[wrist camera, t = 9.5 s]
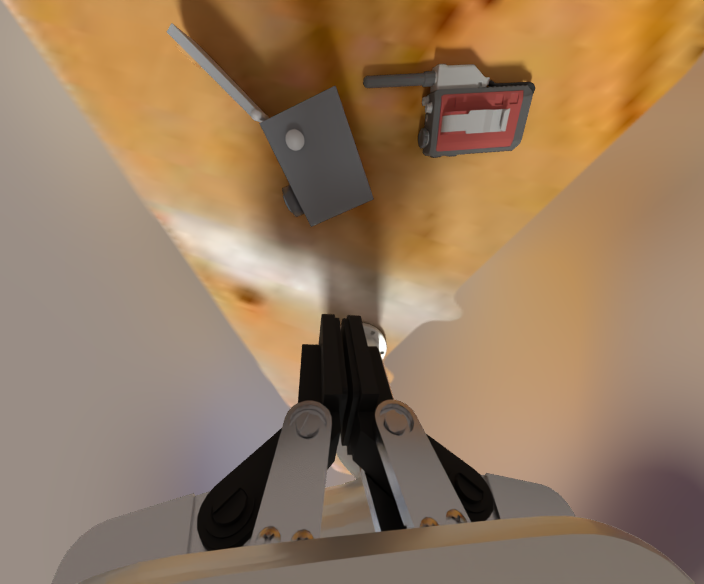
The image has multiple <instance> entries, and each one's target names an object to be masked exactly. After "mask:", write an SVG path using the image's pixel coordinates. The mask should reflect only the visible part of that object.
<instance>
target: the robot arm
mask: <svg viewBox="0 0 704 584" xmlns="http://www.w3.org/2000/svg"><path fill="white" fill-rule="evenodd" d="M386 350H387V344H386V341H385V338H384V336H383V334H382V333H381V331H380V330H378V329H377V328H376V327H374V326H372V325H369V324H366V323H362V320H361V316H352V315H348V316H347V319H345V318H343V319H342V325H340V320H339V318H335V315H331V314H322V316H321V326H320V336H319V345H308V344H302V355H301V369H300V383H299V396H298V403H297V404H296V405H294V406H293V407H292V408H291V409H290V410H289V411H288V413H287V415H286V417H285V420H284V423H283V427H282V428H281V429H280V430H279V431H278V432H277V433H276V434H274V436H272V437H271V438H270V439H269V440H267V441H266V442H265V443H264V444H263V445H262V446H261V447H259V448H258V449H257V450H256V451H255V452H254V453H253V454H252V455H250V456H249V457H248V458H247V459H246V460H244V461H243V462H242V463H241V464H240V465H239V466H238V467H237V468H235V469H234V470H233V471H232V472H231V473H230V474H228V475H227V476H226V477H225V478H224V479H223V480H222V481H220V482H219V483H218V484H217V485H216V486H215V487H214V488H213V489H212V490H211V491H210V492H206V493H203V494H200V495H197V496H195V495H194V493H193V494H190V495H186V496H184V497H180V498H177V499H173V500H170V501H167V502H164V503H161V504H157V505H154V506H151V507H148V508H144V509H141V510H138V511H135V512H132V513H129V514H125V515H122V516H119V517H115V518H112V519H109V520H106V521H104V522H102V523H100V524H98V525H96V526H94V527H92V528H91V529H90V530H89V531H87V532H86V533H85V534H84V535H82V536H81V537H80V538H79V539H78V540H77V541H76V542H75V543H74V544H73V546H72V547H71V548H70V549H69V550H68V551H67V553H66V554H65V556H64V558H63V560H62V562H61V563H60V565H59V567H58V569H57V572H56V574H55V577H54V579H53V581H52V584H695V582H694V581H693V580H692V579H691V578H690V577H689V576H688V575H687V574H686V573H684V572H683V571H682V570H681V569H680V568H679V567H678V566H677V565H676V564H675V563H674V562H672V561H671V560H670V559H669V558H668V557H667V556H665V555H664V554H663V553H661V552H659V551H658V550H657V549H655V548H654V547H653V546H651V545H649V544H648V543H646V542H644V541H643V540H641V539H639V538H637V537H635V536H633V535H631V534H629V533H627V532H625V531H622V530H620V529H618V528H615V527H613V526H611V525H608V524H604V523H601V522H598V521H595V520H591V519H586V518H581V517H575V515H574V513H573V511H572V510H571V508H570V506H569V505H568V503H567V502H566V501H565V500H564V499H563V498H562V497H561V496H560V495H559V494H558V493H557V492H555V491H554V490H552V489H551V488H549V487H547V486H544V485H542V484H537V483H532V482H527V481H523V480H518V479H513V478H508V477H504V476H499V475H494V474H489V473H486V474H485V475H480V474H479V473H478V472H477V471H475V470H474V469H473V468H472V467H470V466H469V465H468V464H466V463H465V462H464V461H462V460H461V459H460V458H458V457H457V456H456V455H454V454H453V453H451V452H450V451H449V450H447V449H446V448H445V447H443V446H442V445H441V444H439V443H438V442H437V441H435V440H434V439H433V438H431V437H430V436H428V435H427V434H426V433H425V431H424V429H423V428H422V426H421V424H420V422H419V420H418V418H417V416H416V414H415V413H414V411H413V410H412V409H411V408H410V407H409V406H408V405H407V404H404V403H403V402H401V401H398V400H394V397H393V394H392V390H391V387H390V383H389V380H388V377H387V373H386V370H385V367H384V363H383V358H384V356H385V354H386ZM336 453H337V455H338V457H339V459H340V460H341V462H342V463H343V465H344V466H345V467H346V468H347V469H348V470H349V471H350V472H351V474H352V475H353V476H354V477H355V478H356V480H354V481H351V482H347V483H345V484H342V485H337V486H332V487H327V488H325V484H326V474H327V469H328V468H329V467H330V466H331V465H332V463H333V462H334V461H335V456H336Z"/></svg>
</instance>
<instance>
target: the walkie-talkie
mask: <svg viewBox="0 0 704 584" xmlns="http://www.w3.org/2000/svg"><path fill="white" fill-rule="evenodd" d="M489 78H490V77H484V76H483V74H482V73H481V72H480V71H479V70H478V69H477V67H476V66H475V65H446V64H438V65H437V66H435V67H433V69H432V71H426V72H424V73H417V74H396V75H376V76H366V77H365V78H364V81H363V84H364V86H365V87H366V88H381V87H401V86H421V85H422V86H423V87H430V86H431V91H430V92H431V93H430V94H429V95H428V96H426V97H423V99H422V105H423V106H425V112H426V114H425V127H424V128H422V129H421V130H420V132H419V136H418V144H419V147H420V148H423V152H422V153H423V154H424V155H425V156H430V157H432V158H436V157H441V156H449V157H450V156H456V155H459V154H471V153H483V152H485V153H487V152H500V151H512V150H513V149H514V148H515V147H517V146H518V145H519V144H520V142H521V140H522V136H523V132H524V128H525V124H526V120H527V116H528V112H529V108H530V104H531V100H532V96H533V93H534V91H535V86H534V84H533V83H531V82H517V83H494V82H493V81H492V80H489ZM487 85H488V86H489V87H487ZM486 87H487V88H486Z"/></svg>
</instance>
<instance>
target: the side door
mask: <svg viewBox="0 0 704 584" xmlns="http://www.w3.org/2000/svg"><path fill="white" fill-rule="evenodd" d="M167 33H168V34H169V35H170V36H171V37H172V38H173V39H174V40H175V41H176V42H177V43H178V44H177V46H176V47H177V48H178V49H179V50H180V51H181V52H182V53H183V54H184V55H185V56H186V57H187V58H188V59H189V60H190V61H191V62H192V63H193V64H194V65H196V66H197V67H199V68H201V67H202V68H203V69H204V70H205V71H206V72H207V73H208V74H209V75H210V76H211V77H212V78H213V79H214V80H215V81H216V82H217V83H218V84H219V85H220V86H221V87H222V88H223V89H224V90H225V91H226V92H227V93H228V94H229V95H230V96H231V97H232V98H233V99H234V100H235V101H236V102H237V103H238V104H239V105H240V106H241V107H242V108H243V109H244V110H245V111H246V112H247V113H248V114H249V115H250V116H251V117H252V119H253V120H255V121H258V122H263V121H265V120H267V119H269V117H268V115H266V114H265V113H264V112H263V111H262V110H261V109H260V108H259V107H258V106H257V105H256V104H255V103H254V102H253V101H252V100H251V99H250V98H249V97H248V96H247V94H246V93H245V92H244V91H243V90H242V89H241V88H240V87H239V86H238V85H237V84H236V83H235V82H234V81H233V80H232V79H231V78H230V77H229V76H228V75H227V74H226V73H225V72H224V71H223V70H222V69H221V68H220V67H219V66H218V65H217V64H216V62H215V61H214V60H213V59H212V58H211V57H210V56H209V55H208V54H207V53H206V52H205V51H204V50H203V49H202V48H201V47H200V46H199V45H198V44H197V43H196V42H195V41H194V40H192V39H191V38H190V37H189V36H187V35H186V34H185V33H184V32H182V31H181V30H180V29H179V28H177V27H176V26H175V25H174V24H172V23H171V25H170V27H169V29H168V31H167Z"/></svg>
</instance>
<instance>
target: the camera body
mask: <svg viewBox="0 0 704 584" xmlns="http://www.w3.org/2000/svg"><path fill="white" fill-rule="evenodd" d="M260 125H261V127H262V129H263V131H264V133H265V135H266V137H267V139H268V141H269V144H270V146H271V148H272V150H273V152H274V154H275V156H276V158H277V160H278V162H279V164H280V166H281V168H282V170H283V172H284V174H285V176H286V178H287V180H288V182H289V184H290V185H288V186H286V187H284V188H282V191H283V198H284V201H285V203H286V205H287V207H288V209H289V210H290V211H291V212H292V213H293V214H294V215H295V216H296V217H298V216H300V215H302V214H305V216H306V218H307V220H308V222H309V224H310V226H311V227H312V226H314V225H316V224H318V223H321V222H323V221H325V220H328V219H330V218H332V217H334V216H337V215H339V214H341V213H343V212H346V211H348V210H350V209H352V208H355V207H357V206H359V205H362V204H364V203H366V202H368V201H371V200H373V199H374V198H373V196H372V193H371V190H370V187H369V184H368V181H367V178H366V175H365V172H364V169H363V166H362V163H361V160H360V157H359V154H358V151H357V148H356V145H355V142H354V139H353V136H352V133H351V130H350V127H349V124H348V121H347V118H346V115H345V112H344V109H343V106H342V103H341V101H340V98H339V95H338V92H337V89H336V86H333V87H331V88H329V89H327V90H325V91H323V92H321V93H319V94H317V95H315V96H313V97H311V98H309V99H307V100H305V101H303V102H301V103H299V104H297V105H295V106H293V107H291V108H289V109H287V110H285V111H283V112H281V113H279V114H277V115H275V116H273V117H271V118H269V119H267V120H265V121H263V122H261V123H260Z"/></svg>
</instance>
